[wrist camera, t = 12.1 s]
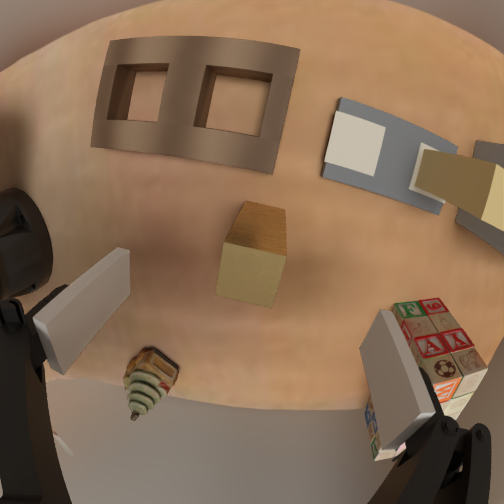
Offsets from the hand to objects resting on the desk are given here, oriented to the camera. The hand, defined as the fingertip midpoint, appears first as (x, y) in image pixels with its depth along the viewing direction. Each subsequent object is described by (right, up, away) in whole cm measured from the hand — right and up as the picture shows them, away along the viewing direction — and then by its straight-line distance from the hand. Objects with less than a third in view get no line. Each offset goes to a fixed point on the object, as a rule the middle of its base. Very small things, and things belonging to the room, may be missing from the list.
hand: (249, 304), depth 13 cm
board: (+13, +11, +8) cm, 18 cm away
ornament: (-13, -13, +21) cm, 28 cm away
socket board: (-5, +16, +8) cm, 18 cm away
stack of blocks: (+20, -12, +17) cm, 29 cm away
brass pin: (+1, +5, +12) cm, 13 cm away
